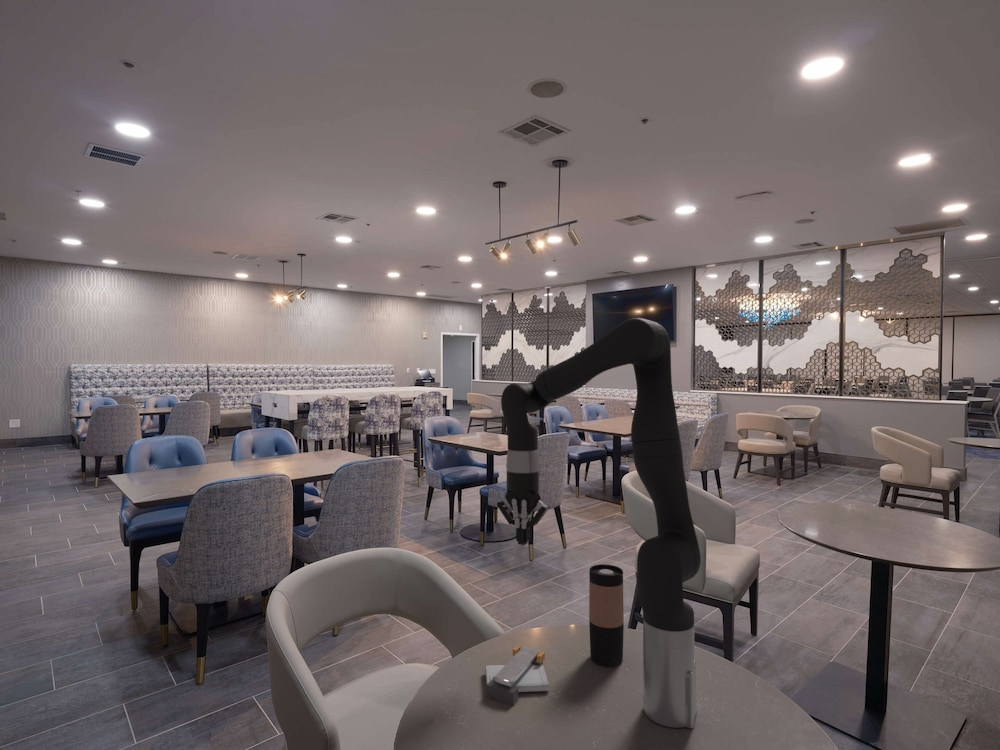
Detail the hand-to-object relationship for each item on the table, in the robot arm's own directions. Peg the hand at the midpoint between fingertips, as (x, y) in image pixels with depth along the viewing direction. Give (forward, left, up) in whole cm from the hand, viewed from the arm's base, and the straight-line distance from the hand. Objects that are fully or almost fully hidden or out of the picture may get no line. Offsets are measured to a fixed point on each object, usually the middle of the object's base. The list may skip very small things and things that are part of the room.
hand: (522, 543), depth 123 cm
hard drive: (-4, +12, -25) cm, 28 cm away
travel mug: (-18, -6, -25) cm, 32 cm away
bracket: (-4, +12, -25) cm, 28 cm away
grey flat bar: (-4, +11, -23) cm, 26 cm away
